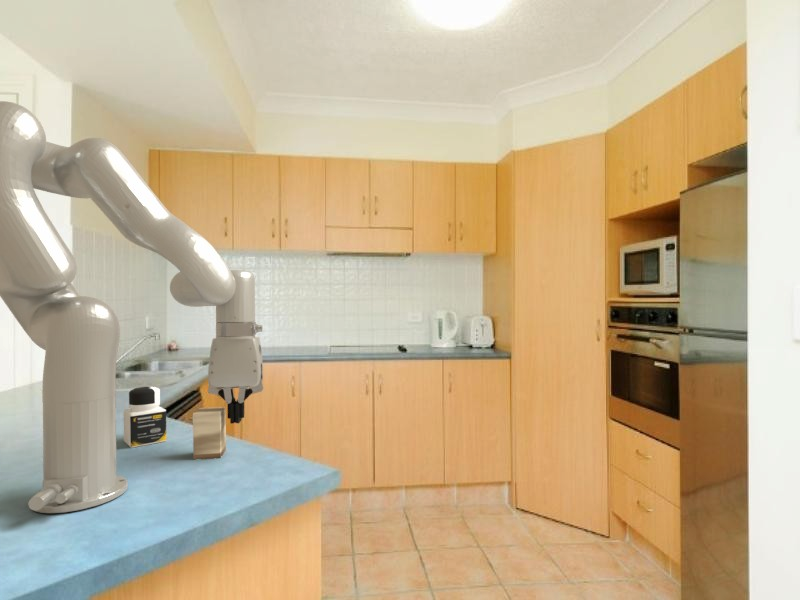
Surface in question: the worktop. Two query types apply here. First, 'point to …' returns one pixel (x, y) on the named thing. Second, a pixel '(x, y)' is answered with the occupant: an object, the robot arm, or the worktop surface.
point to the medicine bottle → (144, 418)
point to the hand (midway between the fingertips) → (236, 421)
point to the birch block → (209, 433)
